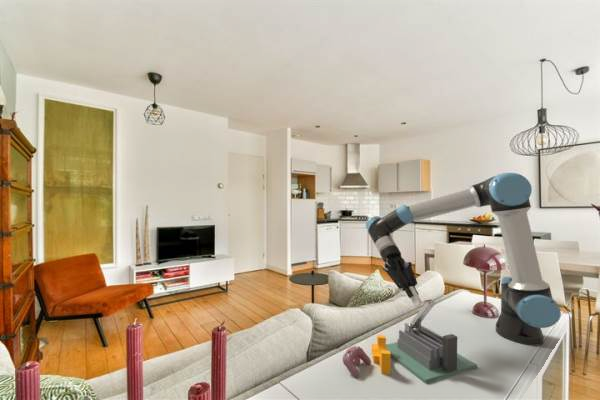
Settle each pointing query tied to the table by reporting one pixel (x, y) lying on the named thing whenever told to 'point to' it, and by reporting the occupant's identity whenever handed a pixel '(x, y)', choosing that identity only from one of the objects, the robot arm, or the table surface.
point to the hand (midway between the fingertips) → (418, 305)
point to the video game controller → (355, 359)
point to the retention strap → (422, 313)
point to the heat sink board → (428, 354)
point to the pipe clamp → (381, 354)
